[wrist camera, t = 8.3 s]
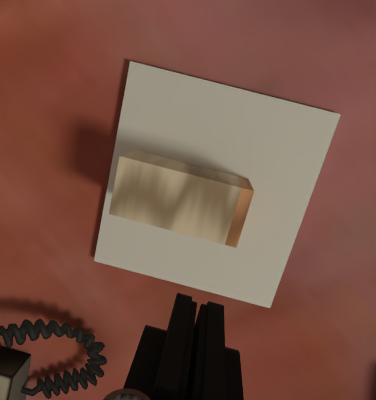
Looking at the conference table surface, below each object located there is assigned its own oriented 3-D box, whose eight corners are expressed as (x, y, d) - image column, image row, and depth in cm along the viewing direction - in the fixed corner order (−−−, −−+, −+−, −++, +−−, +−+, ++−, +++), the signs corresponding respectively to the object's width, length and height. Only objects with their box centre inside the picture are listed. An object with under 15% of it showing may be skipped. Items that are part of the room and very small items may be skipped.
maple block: (248, 178, 30) (135, 149, 30) (254, 191, 25) (119, 156, 25) (233, 227, 31) (125, 199, 32) (236, 247, 26) (108, 214, 27)
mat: (131, 62, 29) (130, 61, 28) (338, 114, 28) (340, 114, 28) (96, 258, 34) (93, 260, 34) (269, 304, 34) (269, 308, 33)
